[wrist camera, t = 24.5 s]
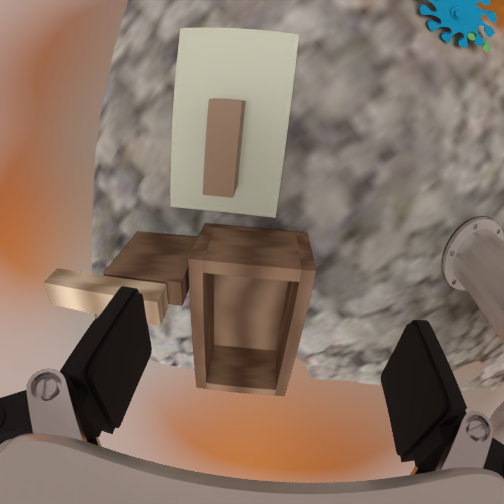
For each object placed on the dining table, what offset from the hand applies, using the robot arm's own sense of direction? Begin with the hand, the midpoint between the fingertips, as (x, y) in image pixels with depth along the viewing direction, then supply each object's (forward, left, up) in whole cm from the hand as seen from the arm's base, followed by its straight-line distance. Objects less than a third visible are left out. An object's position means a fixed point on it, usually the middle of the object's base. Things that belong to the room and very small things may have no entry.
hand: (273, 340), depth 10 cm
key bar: (+17, +12, -17) cm, 27 cm away
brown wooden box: (+6, +20, -28) cm, 35 cm away
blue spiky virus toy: (-20, -24, -28) cm, 42 cm away
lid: (+5, -5, -29) cm, 29 cm away
